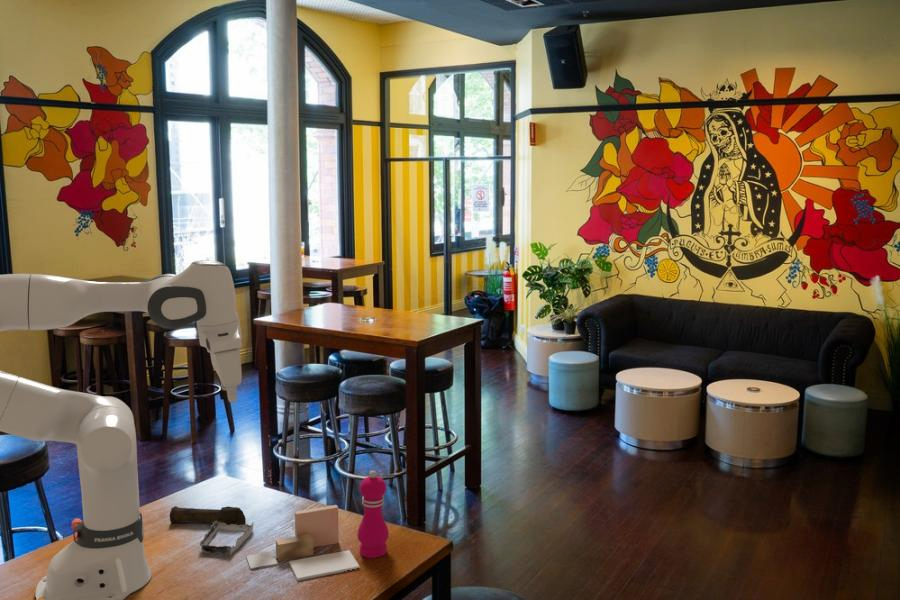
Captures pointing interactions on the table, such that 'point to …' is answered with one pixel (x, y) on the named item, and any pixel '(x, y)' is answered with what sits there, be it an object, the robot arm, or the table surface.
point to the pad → (323, 565)
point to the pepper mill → (373, 518)
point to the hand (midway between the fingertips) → (229, 395)
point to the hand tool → (208, 515)
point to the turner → (283, 551)
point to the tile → (318, 524)
